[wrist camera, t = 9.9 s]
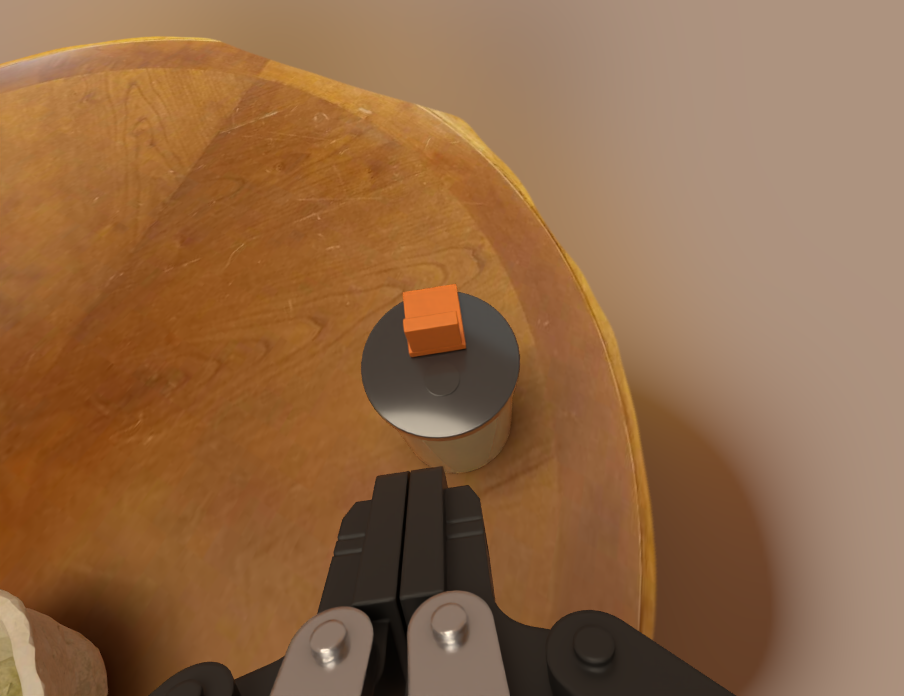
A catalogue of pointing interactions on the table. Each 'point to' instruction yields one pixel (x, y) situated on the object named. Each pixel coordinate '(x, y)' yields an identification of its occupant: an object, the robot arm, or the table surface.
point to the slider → (433, 320)
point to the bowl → (45, 655)
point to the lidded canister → (446, 387)
